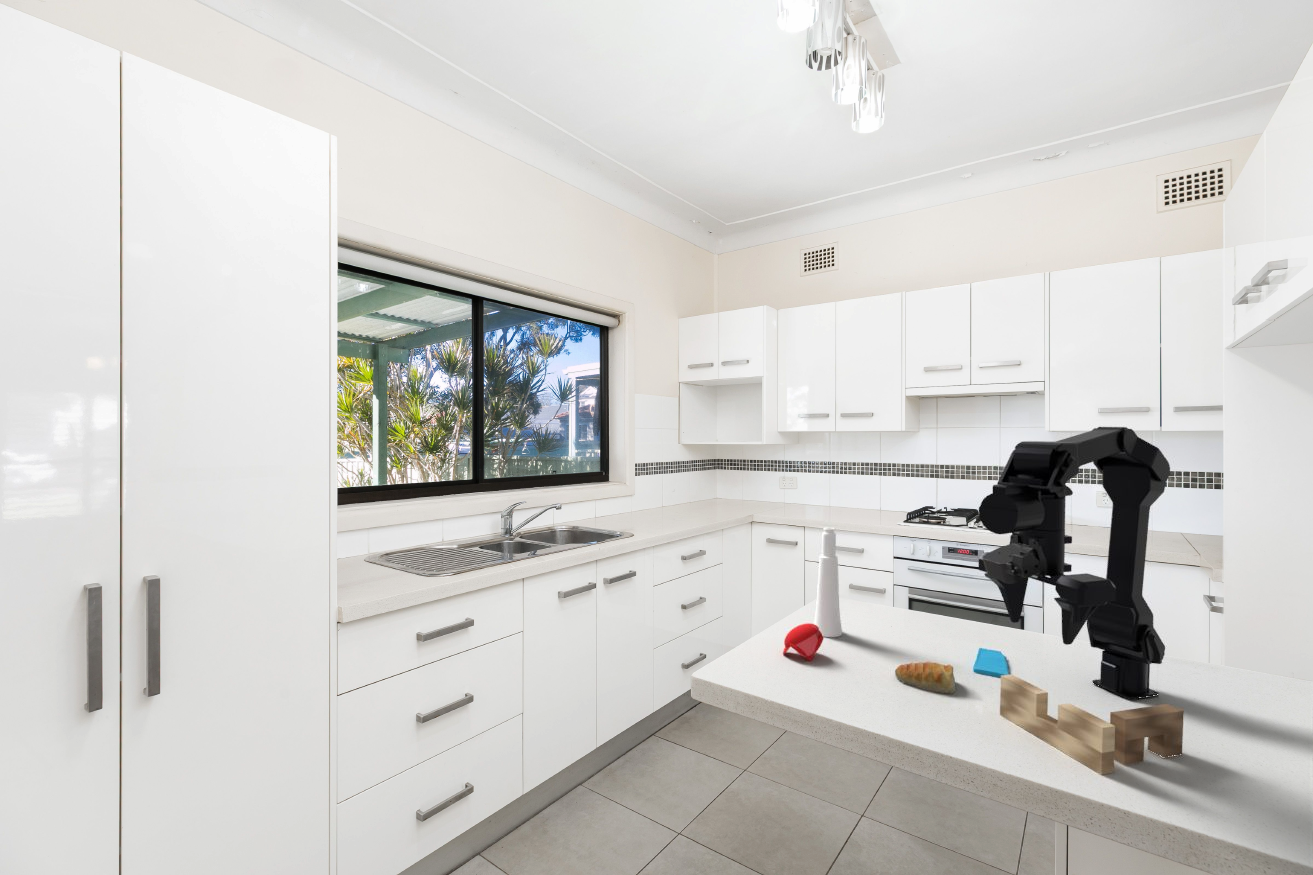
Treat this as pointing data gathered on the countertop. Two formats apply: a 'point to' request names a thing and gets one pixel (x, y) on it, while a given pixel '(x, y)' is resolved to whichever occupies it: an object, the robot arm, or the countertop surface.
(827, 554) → the cosmetic bottle
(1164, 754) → the walnut slot plate
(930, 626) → the countertop surface
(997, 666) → the sponge
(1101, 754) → the oak slot board
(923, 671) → the pastry
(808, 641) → the red rounded piece
